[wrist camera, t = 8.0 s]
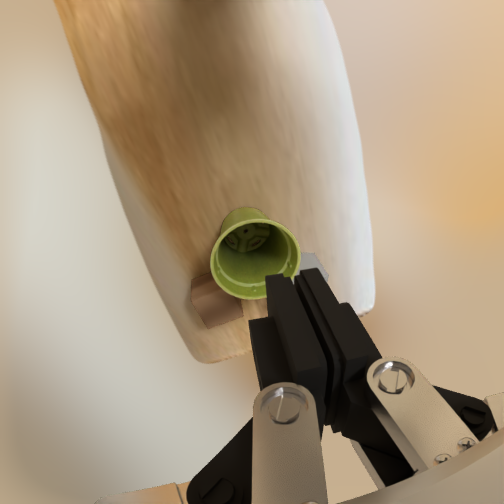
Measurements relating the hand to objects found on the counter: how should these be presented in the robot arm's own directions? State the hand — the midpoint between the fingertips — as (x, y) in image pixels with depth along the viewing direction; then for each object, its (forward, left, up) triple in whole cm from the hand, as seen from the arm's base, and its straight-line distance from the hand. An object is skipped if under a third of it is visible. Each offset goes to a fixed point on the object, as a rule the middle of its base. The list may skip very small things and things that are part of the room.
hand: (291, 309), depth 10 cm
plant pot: (+10, +1, -29) cm, 31 cm away
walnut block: (+18, -4, -29) cm, 35 cm away
